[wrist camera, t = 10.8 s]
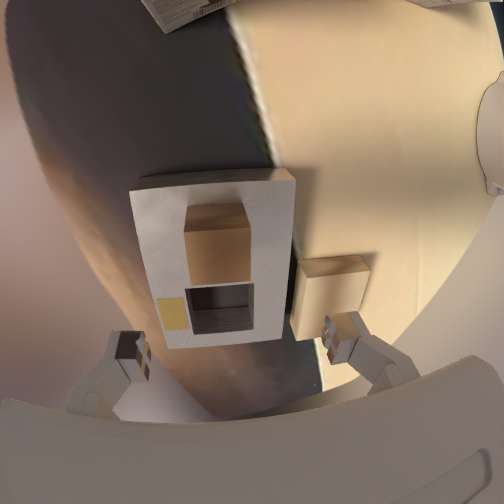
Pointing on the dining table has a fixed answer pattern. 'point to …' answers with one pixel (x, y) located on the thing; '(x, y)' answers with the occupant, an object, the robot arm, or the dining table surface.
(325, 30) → the dining table surface
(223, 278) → the walnut block
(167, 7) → the coffee box
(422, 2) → the light bulb box
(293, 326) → the beige rectangular block
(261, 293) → the plate
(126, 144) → the dining table surface
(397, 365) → the robot arm
